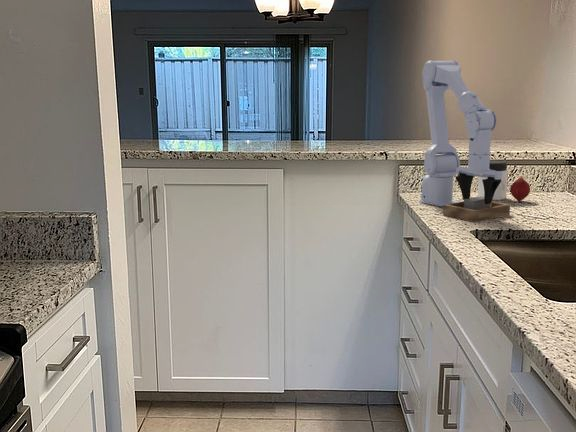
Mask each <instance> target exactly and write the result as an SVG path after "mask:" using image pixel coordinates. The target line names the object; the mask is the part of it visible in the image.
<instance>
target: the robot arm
mask: <svg viewBox="0 0 576 432" xmlns="http://www.w3.org/2000/svg"><path fill="white" fill-rule="evenodd" d="M421 73H422V74H421V75H422V76H421V77H422V84H423V89H424V91H425V93H426V101H427V102H426V104H427V111H428V120H429V121H428V122H429V130H430V140H431V141H430V142H431V145H430V147H429V148H428V149H427V150H426V151H425V152H424V161H423V168H424V171H425V173H426V175H425V176H424V177H423V179H422V181H421V195H420V197H421V199H420V200H419V203H421V204H422V203H423V204H427V205H433V206H437V207H444V205H446V204H451V203H457V202H458V201H453V194H454V193H453V192H454V191H453V190H454V176H455V180H456V182H457V183H458V185H459V188H460V192H461V196H462V200H463V201H464V199H468V198H471V193H472V192H471V190H472V189H471V188H472V185H473V184H472V183H473V180H474V178H475V177H477V178H479V177H485V178H488V179H483V180H482V182H483V185H484V202H485V204H491V202H493V200H492V199H493V196H494V193H495V191H496V189H497V187H498V186H499V184H500V183H501V179H502V172H498V171H494V170H490V169H489V163H490V159H491V143H492V142H491V141H492V131H493V130H494V129H495V128H496V125H497V116H496V114H495V112H494V110H492V109H488V107H487V108H486V107H485V106H484V104H483V103H482V101H481V100H480V99H479V96H478V94H477V93H476V92H474V91H470V90H469V89H468V87H467V85H466V83H465V81H464V79H463V77H462V75H461V73H462V67H461V66H460V64H459V62H458V61H457V60H456V59H455V60H430V59H429V60H427V61H426V62H425V64H424V66H423V69H422V71H421ZM448 90H451V91H452V92H453V94H454V95H455V96H456V97H457V100H456V101H457V102H456V104H457V106H458V108H459V109H460V111H461V113H462V115H463V116H464V117H465V121H464V122H465V123H464V124H465V128H466V130H467V138H468V158H467V160H468V161H467V163H468V164H467V167H463V166H461V161H460V157H459V155H458V150H457V148H456V147H454V146H453V144H451V143H450V141H449V138H450V137H449V130H448V121H447V120H448V119H447V113H446V105H445V103H446V102H445V93H446V91H448ZM479 174H482V175H479Z"/></svg>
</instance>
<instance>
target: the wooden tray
mask: <svg viewBox="0 0 576 432" xmlns="http://www.w3.org/2000/svg"><path fill="white" fill-rule="evenodd" d="M456 202H457V203H451V204H446V205H444V206H443V208H442V209H443V211H442V212H443V214H442V215H443V216H447V217H451V218H454V219H455V218H456V219H459V220H460V219H461V220H465V221H469V222H475V223H477V222H483V220H484V221H488V220H491V219H492V220H493V219H497V218H502V217H507V216H510V215H511V214H510V213H511V204H508V203H502V202H497V201H492V203H491V207H490V208H485V209H480V210H472V209H467V208H464V200H463V201H456ZM487 219H488V220H487Z"/></svg>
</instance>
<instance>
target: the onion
mask: <svg viewBox="0 0 576 432" xmlns="http://www.w3.org/2000/svg"><path fill="white" fill-rule="evenodd" d="M509 190H510V194H511V196H512V197H513V198H514V199H515V200H516V201H518V202H521V201H523V200H525V199H526V198H527V197H528V196H529V195H530V193H531V186H530V184H529V182H528V181H526V180H525V179H524V177H523V176H519V178H518V179H516V180H514V182H512V184H511V186H510V189H509Z"/></svg>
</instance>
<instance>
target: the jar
mask: <svg viewBox="0 0 576 432" xmlns="http://www.w3.org/2000/svg"><path fill="white" fill-rule="evenodd" d="M489 169H490V170H494V171H498V172H502V179H501V183H500V184H499V186H498V187H497V189H496V191H495V193H494V196H493V199H492V201H501V200H504V199H505V200H506V199H507V195H508V194H507V193H508V192H507V191H508V173H509V170H508V162H507V161H505V160H493V159H492V160H490V163H489ZM479 175H482V174H479ZM483 179H488V178H485V177H478V182H477V183H478V184H477V197H479V196H484V185H483V182H482V180H483Z"/></svg>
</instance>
